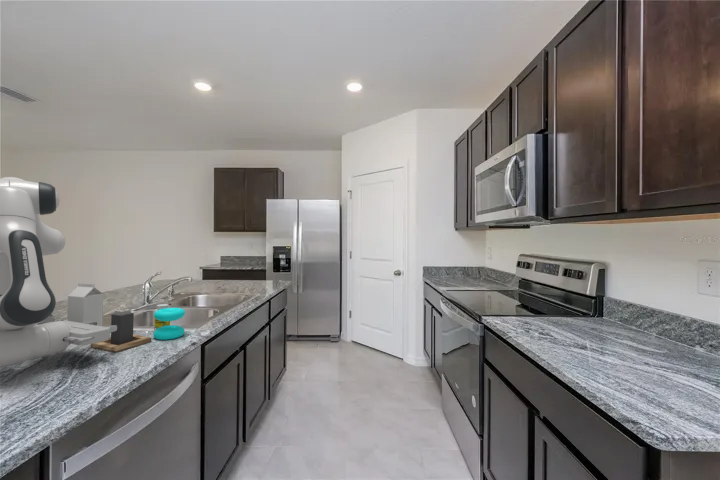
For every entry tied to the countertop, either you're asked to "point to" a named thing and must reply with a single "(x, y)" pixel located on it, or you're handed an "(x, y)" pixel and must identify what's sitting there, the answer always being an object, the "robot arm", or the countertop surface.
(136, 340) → the wooden tray
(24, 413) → the countertop surface
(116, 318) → the plug
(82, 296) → the milk carton
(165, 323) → the supplement bottle
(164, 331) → the donuts
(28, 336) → the robot arm
